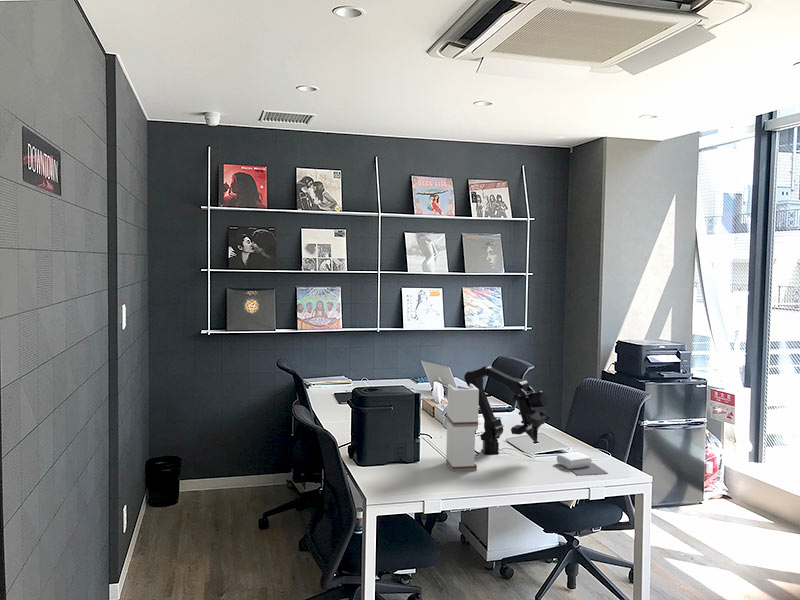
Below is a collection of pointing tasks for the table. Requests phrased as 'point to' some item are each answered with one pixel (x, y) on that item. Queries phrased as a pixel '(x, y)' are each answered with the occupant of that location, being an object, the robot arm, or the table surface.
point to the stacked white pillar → (462, 428)
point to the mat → (588, 470)
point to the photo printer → (573, 460)
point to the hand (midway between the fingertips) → (535, 441)
